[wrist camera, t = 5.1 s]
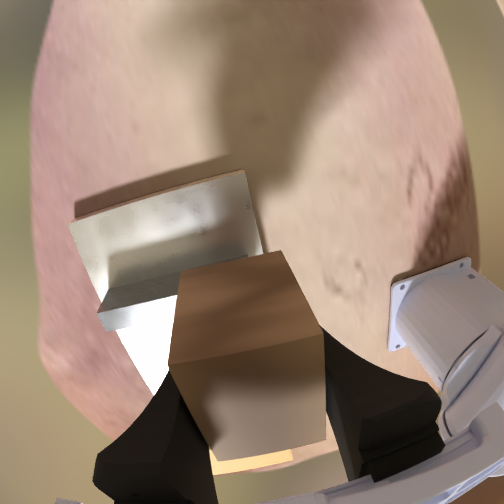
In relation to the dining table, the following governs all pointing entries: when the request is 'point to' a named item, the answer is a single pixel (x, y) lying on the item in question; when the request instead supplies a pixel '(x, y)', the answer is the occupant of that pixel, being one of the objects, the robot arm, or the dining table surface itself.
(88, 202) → the dining table surface
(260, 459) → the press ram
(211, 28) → the dining table surface
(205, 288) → the brown wooden block
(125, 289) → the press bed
